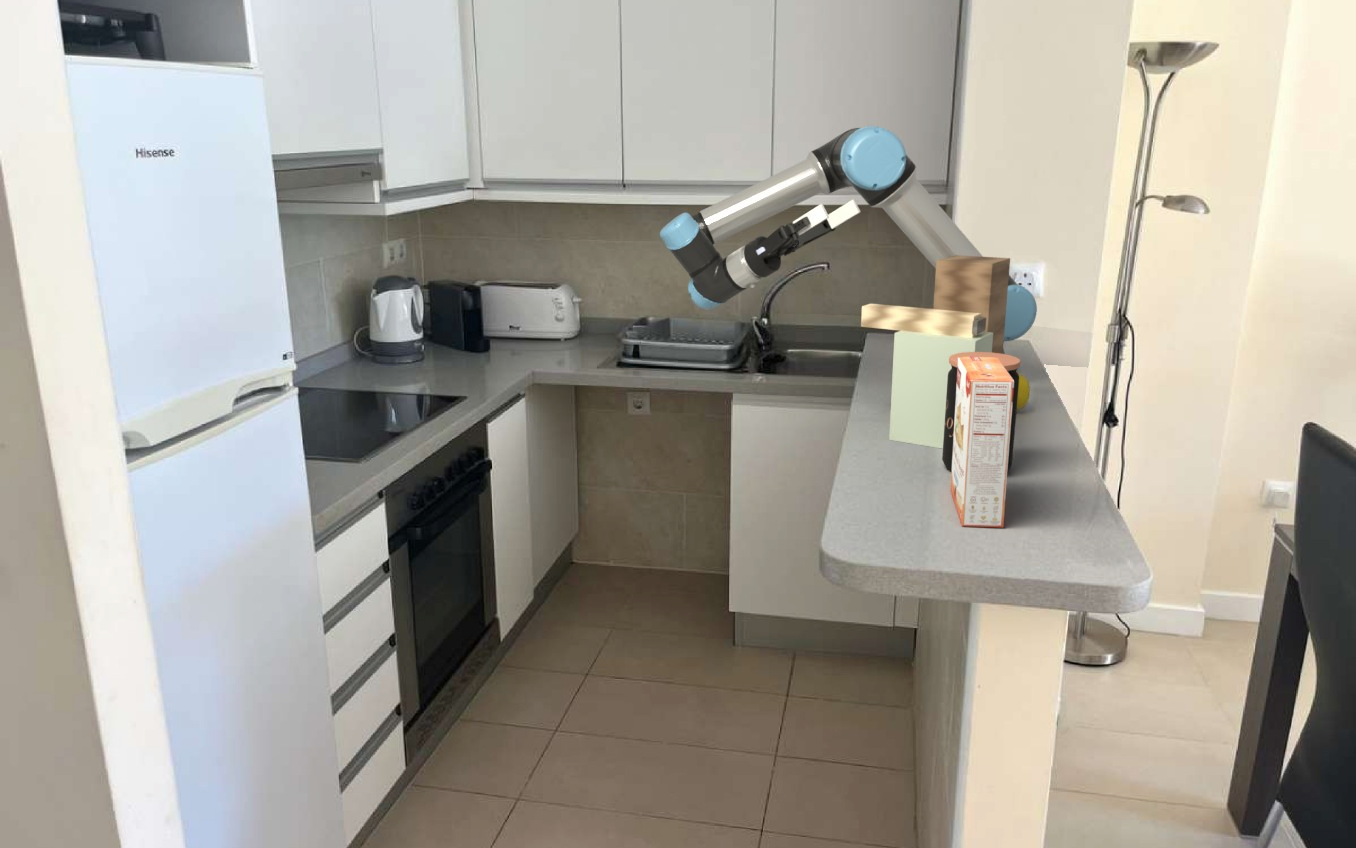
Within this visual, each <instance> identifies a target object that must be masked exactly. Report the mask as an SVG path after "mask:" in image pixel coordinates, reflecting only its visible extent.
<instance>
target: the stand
mask: <svg viewBox="0 0 1356 848" xmlns="http://www.w3.org/2000/svg"><path fill="white" fill-rule="evenodd" d="M1010 265H1011V258H1010V257H996V256H995V257H993V256H983V257H979V256H961V255H955V256H951V257H948V258H944V259H940V260H937V261H936V269H935V275H934V278H935V279H934V280H935V281H934V292H933V293H934V294H933V309H938V310H949V311H961V312H972V313H981V317H986V329H985V331H983V332H991V333H993V342H992V353H1000V354H1003V348H1004V342H1005V341H1004V330H1005V317H1006V305H1007V292H1008V280H1009V275H1010Z"/></svg>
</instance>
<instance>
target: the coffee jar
mask: <svg viewBox="0 0 1356 848" xmlns="http://www.w3.org/2000/svg"><path fill="white" fill-rule="evenodd" d="M959 357H994V358H998V359H999V361H1000V362H1001V364H1002V365H1003V366H1004V368H1005V369H1006V370H1007V372H1008V373H1009V374H1010V376H1011V377H1012V379H1013V380H1014V393H1013V405H1012V417H1011V430H1010V443H1009V456H1008V469H1007V472H1008V471H1010V469H1011V467H1012V465H1013V456H1014V444H1015V432H1016V423H1017V422H1016V420H1017V411H1018V410H1017V399H1018V388H1019V375H1018V373H1019V372H1018V371H1017V370H1018V369H1019V368H1020V367H1021V359H1019V358H1018V357H1016V356H1013V355H1010V354H1006V353H1005V354H1000V353H991V352H963V353H957V354H954V355H951V356H950V357H949V363H950V364H951V366H952V369H951V370H950V371H949V372H948V379H947V395H946V410H945V425H944V440H943V449H942V457H941V458H942V459H941V460H942V462H943V464H944V466H945V468H946V470H947V471H948V472H950V473H951V472H952V456H953V439H954V420H955V404H956V385H957V366H958V358H959ZM1017 372H1018V373H1017Z"/></svg>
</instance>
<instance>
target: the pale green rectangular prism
mask: <svg viewBox="0 0 1356 848" xmlns="http://www.w3.org/2000/svg"><path fill="white" fill-rule="evenodd" d="M893 337H894V339H893V356H892V357H893V358H892V373H891V374H892V375H891V376H892V377H891V380H892V381H891V398H890V399H891V400H890V416H889V435H888V436H889V437H888V440H889V441H893V442H894V441H895V442H900V443H906V444H912V445H919V446H925V447H931V448H936V449H941V450H943V440H944V425H945V410H946V395H947V379H948V372H949V371H950V370H951V369H952V366H951V364H950V363H949V357H950V356H951V355H954V354H957V353H963V352H991V353H992V342H993V333H991V332H981V333H980V335H977V336H975V337H973V338H968V337H959V336H949V335H939V334H929V333H919V332H910V331H900V330H897V331H896V332H894V336H893Z"/></svg>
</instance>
